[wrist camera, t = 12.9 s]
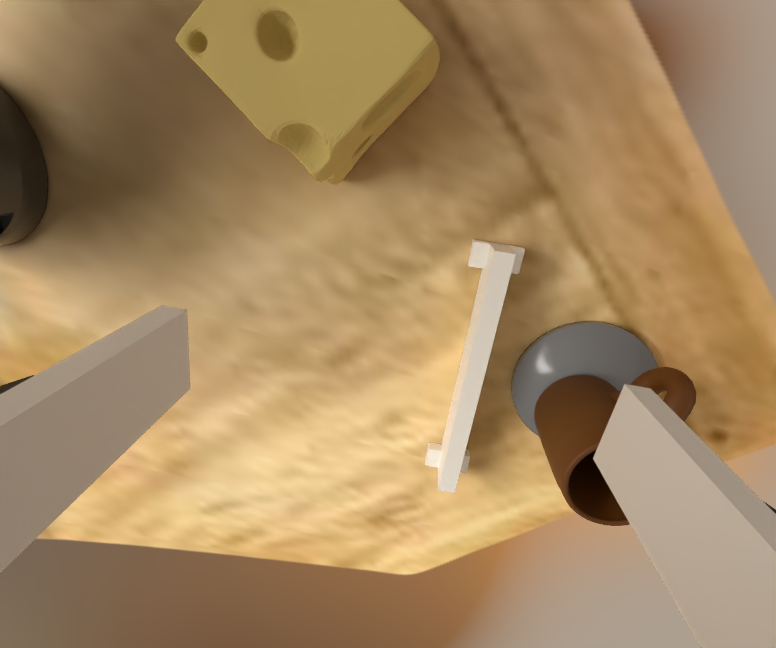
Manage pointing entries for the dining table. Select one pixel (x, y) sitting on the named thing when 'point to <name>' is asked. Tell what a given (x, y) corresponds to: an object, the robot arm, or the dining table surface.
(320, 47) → the cheese
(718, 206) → the dining table surface
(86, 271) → the dining table surface
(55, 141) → the dining table surface
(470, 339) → the rail
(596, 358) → the disc
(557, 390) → the mug
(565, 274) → the dining table surface
